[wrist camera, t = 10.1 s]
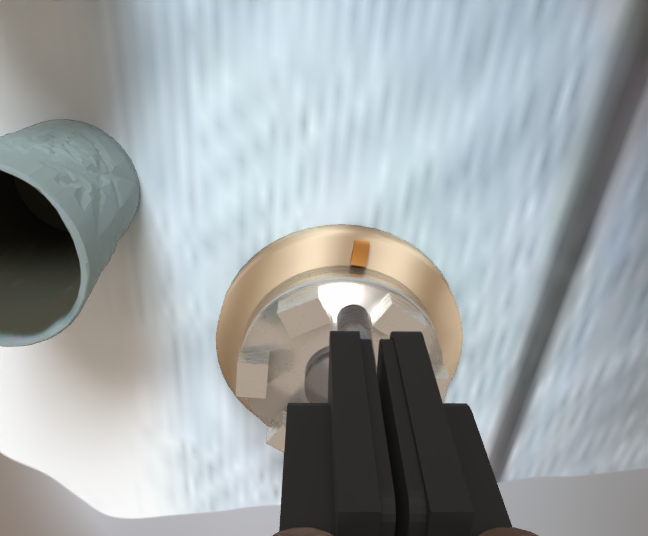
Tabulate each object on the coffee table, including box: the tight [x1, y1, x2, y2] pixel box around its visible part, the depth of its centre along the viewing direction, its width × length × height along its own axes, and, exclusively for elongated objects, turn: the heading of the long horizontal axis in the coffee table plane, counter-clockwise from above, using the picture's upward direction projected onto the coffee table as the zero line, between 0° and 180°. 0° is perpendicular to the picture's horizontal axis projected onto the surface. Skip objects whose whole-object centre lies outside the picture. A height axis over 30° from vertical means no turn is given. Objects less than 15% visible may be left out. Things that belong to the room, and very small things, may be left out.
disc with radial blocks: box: [236, 265, 450, 452], centre depth 39 cm, size 14×14×10 cm
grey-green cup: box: [0, 120, 140, 347], centre depth 34 cm, size 10×10×12 cm
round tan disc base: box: [216, 224, 463, 417], centre depth 44 cm, size 18×18×3 cm
